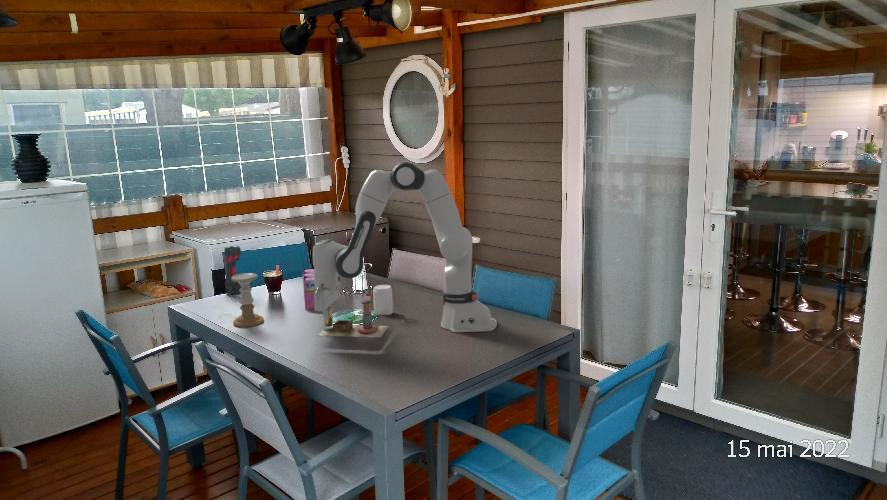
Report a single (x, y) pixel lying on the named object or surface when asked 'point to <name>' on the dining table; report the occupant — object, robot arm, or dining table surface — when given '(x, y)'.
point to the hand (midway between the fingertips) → (328, 315)
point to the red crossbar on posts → (367, 316)
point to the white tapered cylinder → (383, 300)
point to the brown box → (342, 326)
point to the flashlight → (232, 269)
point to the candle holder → (246, 302)
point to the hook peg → (329, 318)
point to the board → (356, 332)
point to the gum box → (309, 288)
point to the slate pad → (328, 329)
